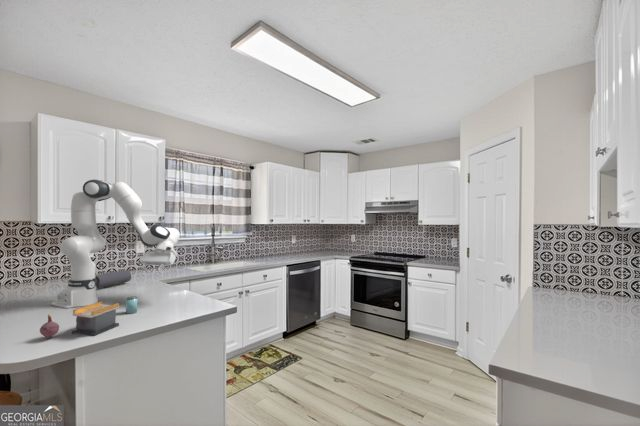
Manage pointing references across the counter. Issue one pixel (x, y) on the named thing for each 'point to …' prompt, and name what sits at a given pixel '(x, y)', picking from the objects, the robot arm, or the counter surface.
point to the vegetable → (49, 328)
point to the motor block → (95, 318)
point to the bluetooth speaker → (112, 279)
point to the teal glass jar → (131, 305)
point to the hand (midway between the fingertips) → (150, 270)
